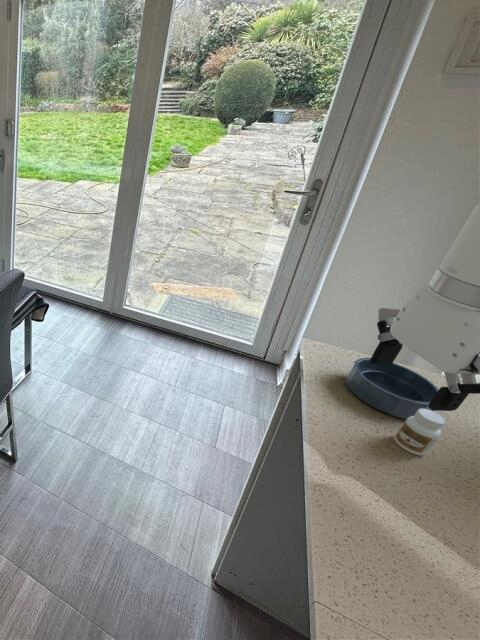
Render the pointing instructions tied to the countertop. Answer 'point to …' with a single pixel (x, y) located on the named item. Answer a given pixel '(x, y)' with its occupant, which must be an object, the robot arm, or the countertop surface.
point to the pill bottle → (420, 432)
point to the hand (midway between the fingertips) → (408, 384)
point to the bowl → (390, 387)
